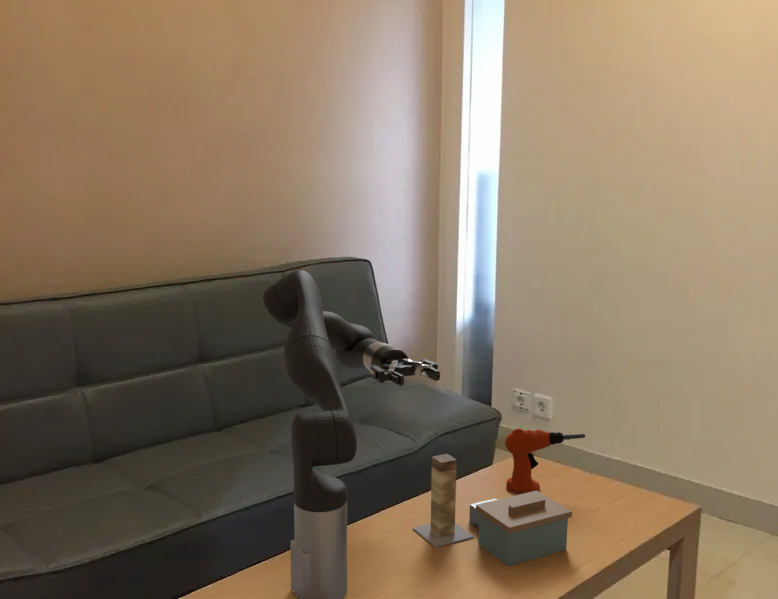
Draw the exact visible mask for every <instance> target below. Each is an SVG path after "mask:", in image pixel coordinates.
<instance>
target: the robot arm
mask: <svg viewBox="0 0 778 599" xmlns="http://www.w3.org/2000/svg"><path fill="white" fill-rule="evenodd" d="M262 300H263V304H264V306H265V309H266V310H267V312H268V313H269V315H270V317H272V318H273V319H274V320H275V321H276V322H277V323H278V324H281V325H283V326H285V327H288V328H290V330H289V332H288V334H287V336H286V337H287V338H286V340H285V342H284V347H283V356H284V363H285V368H286V373H287V376H288V378H289V380H290V382H291V383H292V385H294V387H295V388H297V390H299V392H301V393H302V394H303V395H304V396H305V397H307V398H308V399H310V400H311V401H312V402H314V403H315V404H317V405H318V407H320V409H321V410H322V411H321V410H320V411H319V410H318V411H308V412H307V411H306V412H300V413H297V414H295V416H294V417H293V419H292V423H291V426H290V427H291V428H290V429H291V430H290V436H291V437H290V438H291V451H292V453H291V454H292V464H293V468H292V469H293V506H294V507H293V511H294V512H293V514H294V516H293V517H294V518H293V521H294V522H293V524H294V527H293V529H294V537H293V538H294V539H292V540H290V587H291V588H290V589H292V590H293V591H294V593H295V594H296V595H297V596H296V595H295V594H294V593H293V594H294V595H295V596H296V598H297V597H298V598H299V599H343V598H344V597H346V595H347V592H348V488H347V486H346V483H344V481H343V480H342V479H340V478H337V477H334V476H330V475H327V474H324V473H322V472H319V471H317V470H315V469H314V468H315V467H322V466H333V465H334V466H336V465H342V464H346V463H349V462H351V461H352V460H354V458H355V456H356V453H357V451H358V450H357V449H358V439H357V434H356V433H357V432H356V428H355V424H354V420H353V418H352V415H351V412H350V409H349V407H348V403H347V401H346V399H345V396H344V394H343V391H342V387H341V384H340V379H339V375H338V371H337V366H336V365H337V364H336V361H335V358H336V360H337V361H338V362H339V363H340V364H341V365H343V366H345V367H346V368H351V369H363V368H364V369H366V370H368V371H369V373H370V374H369V375H370V378H371V379H373V380H375V381H376V382H378V383H381V384H383V383H385V382H388V383H389V384H390V383H393V384H396V385H397V386H399V387H401V386H404V384H405V378H415V379H420V378H423V377H426V378H429V379H430V380H433V381H435V382H436V381H437V382H438V381H440V379H441V371H440V370H439V364H438V363H436V362H435V361H432V360H429V359H427V358H420V361H419V360H412V359H411V358H409V357H408V355H407V354H406V352H404V351H403V350H401V349H399V348H397V347H395V346H393V345H390V344H389V343H385V342H381V341H379V340H377V339H375V335H374V334H373V332H372V331H371V330H370V329H369V328H368V327H365V326H363V325H360V324H356V323H350V322H348V321H346V320H345V319H344V318H343V317H342V316H340V315H338V314H337V313H336V312H335V313H334V312H332V311H326V310H324V309H323V302H322V297H321V293H320V290H319V287H318V284H317V282H316V281H315V279H314V278H313V276H312V275H311V274H310V273H309V272H307V271H305V270H302V269H297V270H296V269H295V270H293V271H291V272H290V273H287V275H285V276H283V277H281V278H280V279H279V280H277V281H275V282H274V283H273V284H271V285H270V286H268V288H266V289H265V290H264V291H263V294H262ZM332 349H333V350H335V354H334V353H333V350H332ZM334 355H335V357H334ZM416 372H417V373H416ZM292 590H291V591H292ZM293 591H292V592H293ZM298 598H297V599H298Z"/></svg>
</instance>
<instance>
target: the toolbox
mask: <svg viewBox="0 0 778 599" xmlns="http://www.w3.org/2000/svg"><path fill="white" fill-rule="evenodd" d="M476 511H477V512H479V529H478V541H477V542H478V545H479V546H480V547H482V548H483V549H485V550H486V551H488V552H489V553H490V554H491V555H493V556H494V557H495V558H497V559H499V560H500V562H502V563H503V564H505V565H506V566H508V567H511V566H514V565H517V564H518V565H519V564H521V563H525V562H528V561H531V560H532V561H533V560H535V559H538V558H542V557H545V556H549V555H552V554H556V553H559V552H564V551H567V544H568V543H567V541H568V540H567V539H568V526H569V525H568V523H569V522H568V521H569V519H570V518H572V516H573V511H572V510H570V509H568V508H567V507H565V506H564V505H562V504H561V503H558V502H557V501H555V500H553V499H551V497H549V496H547V495H545V494H543V493H541V492H540V491H533V492H528V493H521V494H516V495H512V496H509V497H504V498H500V499H498V500H495V501H490V502H486V503H482V504H478V505H476Z"/></svg>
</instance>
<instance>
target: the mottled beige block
mask: <svg viewBox="0 0 778 599" xmlns="http://www.w3.org/2000/svg"><path fill="white" fill-rule="evenodd" d="M457 461H458V460H457V459H456V458H455V457H453V456H452V455H450V454H448V453H444V454H439V455H434V456H432V457H431V486H430V488H431V490H430V491H431V494H430V523H431V531H432V532H433V533H434V534H436V535H437V536H438V537H439V538H440V537H444V536H448V535H453V534H455V523H456V504H457V503H456V501H457V499H456V497H457Z"/></svg>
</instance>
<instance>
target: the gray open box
mask: <svg viewBox="0 0 778 599" xmlns="http://www.w3.org/2000/svg"><path fill="white" fill-rule="evenodd" d="M495 500H499V499H497V498H491V499H488V500H483V501H478V502H475V503H470V504H469V519H468V520H469V522H468V523H469V524H471V525H472V526H475V527H476V529H478V530H479V512H477V511H476V505H478V504H482V503H486V502H490V501H495Z"/></svg>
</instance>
